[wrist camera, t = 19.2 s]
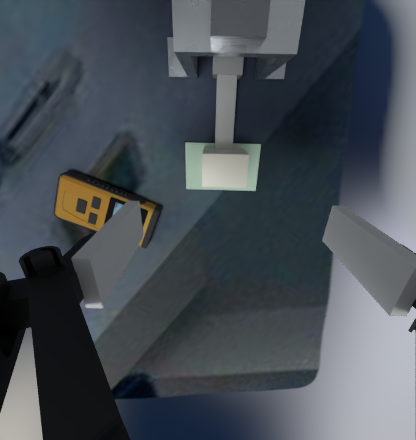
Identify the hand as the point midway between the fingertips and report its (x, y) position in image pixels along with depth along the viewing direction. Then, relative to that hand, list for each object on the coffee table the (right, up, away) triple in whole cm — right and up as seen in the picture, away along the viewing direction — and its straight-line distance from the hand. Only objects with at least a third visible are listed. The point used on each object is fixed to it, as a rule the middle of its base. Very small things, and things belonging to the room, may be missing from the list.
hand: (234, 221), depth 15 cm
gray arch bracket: (+1, +20, +13) cm, 24 cm away
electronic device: (-18, +2, +22) cm, 29 cm away
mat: (0, +8, +18) cm, 20 cm away
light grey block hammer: (0, +14, +15) cm, 20 cm away
